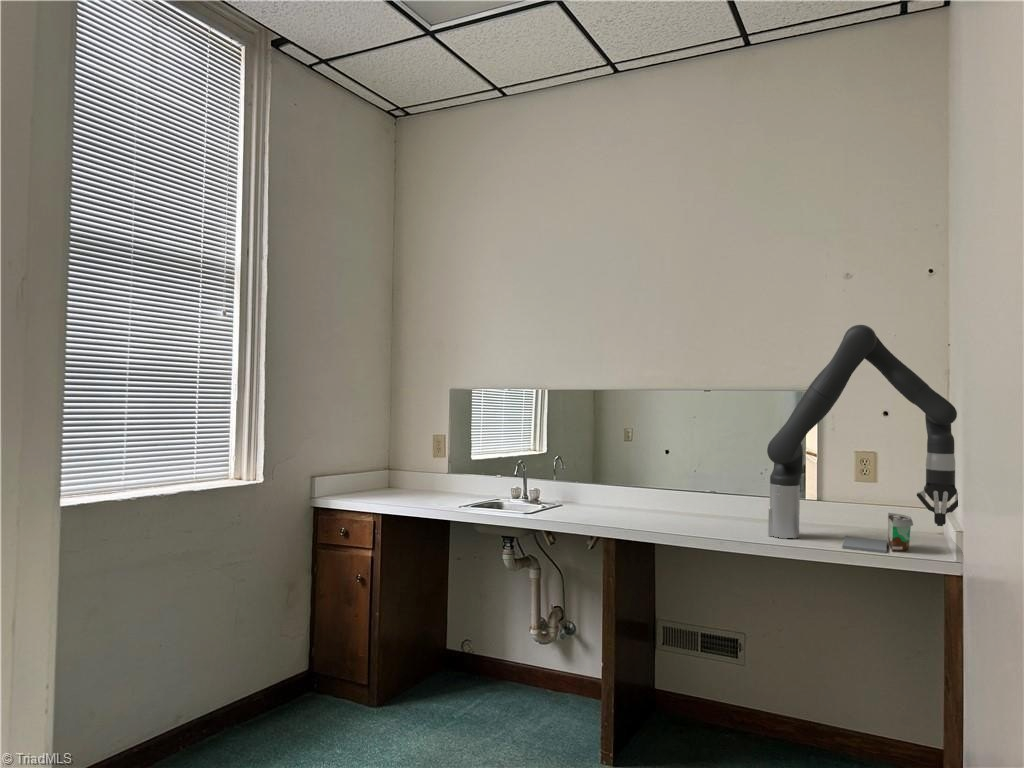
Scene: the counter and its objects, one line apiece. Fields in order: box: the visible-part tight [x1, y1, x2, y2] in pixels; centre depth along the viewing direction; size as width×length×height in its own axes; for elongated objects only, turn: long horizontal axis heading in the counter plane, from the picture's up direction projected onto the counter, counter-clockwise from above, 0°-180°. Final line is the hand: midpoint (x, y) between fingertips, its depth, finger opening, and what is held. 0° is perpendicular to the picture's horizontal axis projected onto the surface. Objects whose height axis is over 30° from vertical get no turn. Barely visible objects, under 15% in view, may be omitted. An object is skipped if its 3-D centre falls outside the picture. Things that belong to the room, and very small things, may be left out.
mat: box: [841, 535, 888, 554], centre depth 222 cm, size 12×16×1 cm
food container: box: [887, 512, 914, 553], centre depth 217 cm, size 12×6×10 cm, turn 158°
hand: (940, 525), depth 213 cm, fingers closed
